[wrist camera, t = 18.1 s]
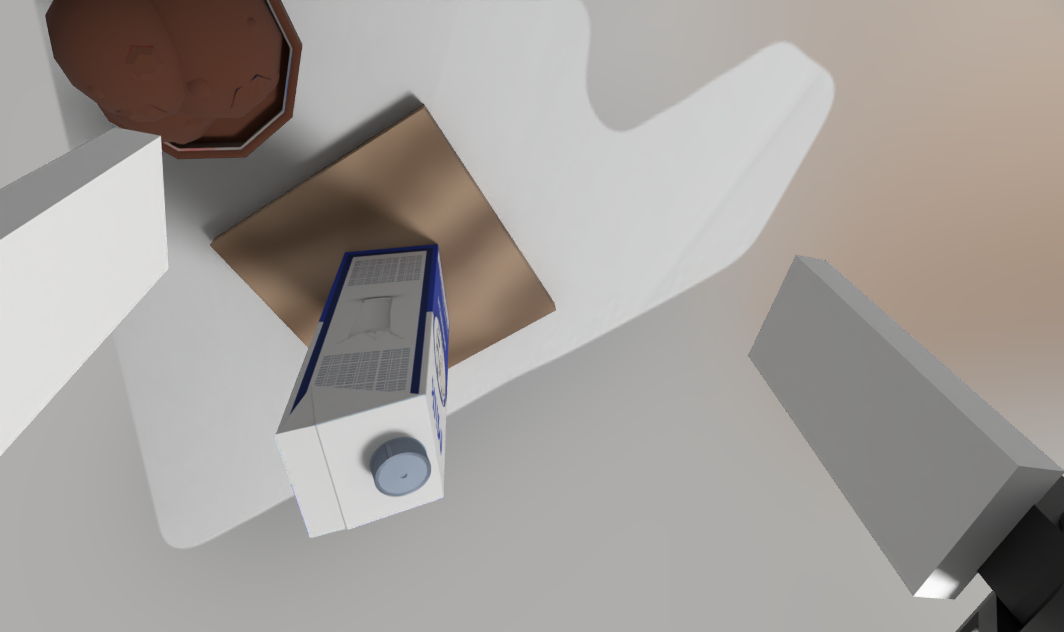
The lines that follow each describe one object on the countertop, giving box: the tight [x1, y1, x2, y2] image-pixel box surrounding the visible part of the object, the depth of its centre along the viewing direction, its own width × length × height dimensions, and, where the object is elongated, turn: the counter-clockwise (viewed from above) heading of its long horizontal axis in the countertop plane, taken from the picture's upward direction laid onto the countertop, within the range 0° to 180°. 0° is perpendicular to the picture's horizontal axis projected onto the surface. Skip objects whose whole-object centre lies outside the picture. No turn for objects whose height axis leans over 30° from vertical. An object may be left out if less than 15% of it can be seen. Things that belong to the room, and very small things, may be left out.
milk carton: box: [274, 244, 449, 538], centre depth 39 cm, size 7×7×20 cm
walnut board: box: [210, 105, 556, 368], centre depth 47 cm, size 18×18×1 cm
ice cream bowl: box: [45, 0, 302, 159], centre depth 32 cm, size 11×11×15 cm
